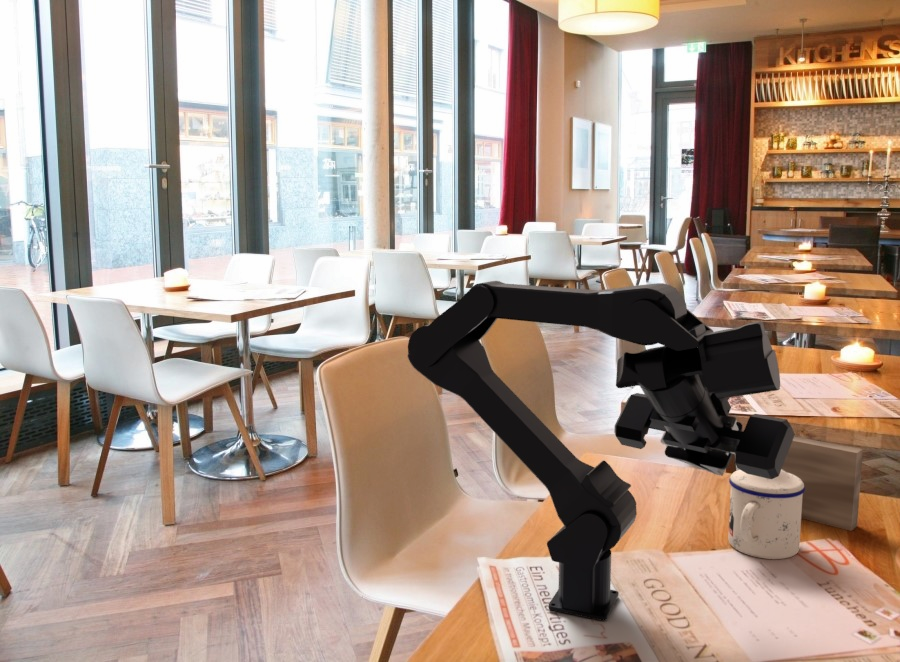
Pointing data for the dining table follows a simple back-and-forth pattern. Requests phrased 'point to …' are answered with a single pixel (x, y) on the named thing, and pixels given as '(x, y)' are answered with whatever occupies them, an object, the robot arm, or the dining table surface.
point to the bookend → (827, 480)
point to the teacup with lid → (765, 514)
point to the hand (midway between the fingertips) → (721, 471)
